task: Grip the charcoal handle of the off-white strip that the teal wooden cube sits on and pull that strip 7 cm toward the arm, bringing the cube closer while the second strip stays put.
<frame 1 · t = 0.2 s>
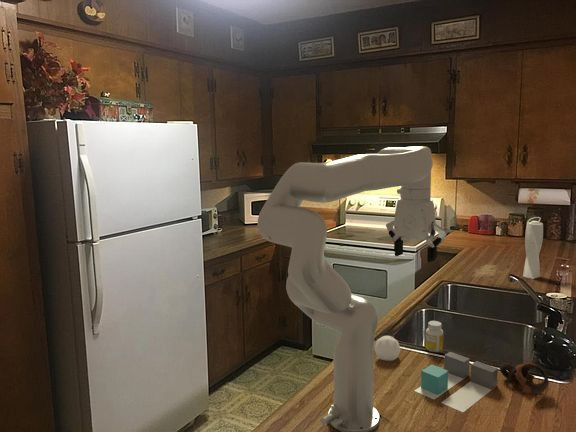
hand: (414, 258, 128), 36 cm above the worktop, tool pointing down, fingers open, 9 cm apart
ball: (387, 360, 148), on the worktop
cube: (434, 388, 129), point 1 cm above the worktop, touching strip with cube
empty strip: (470, 386, 126), point 3 cm above the worktop, slide at 0.0 cm
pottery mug: (522, 388, 131), on the worktop
supplement bottle: (433, 352, 153), on the worktop
strip with cube: (442, 375, 131), point 3 cm above the worktop, slide at 0.0 cm, touching cube
skyscraper: (531, 276, 225), on the worktop
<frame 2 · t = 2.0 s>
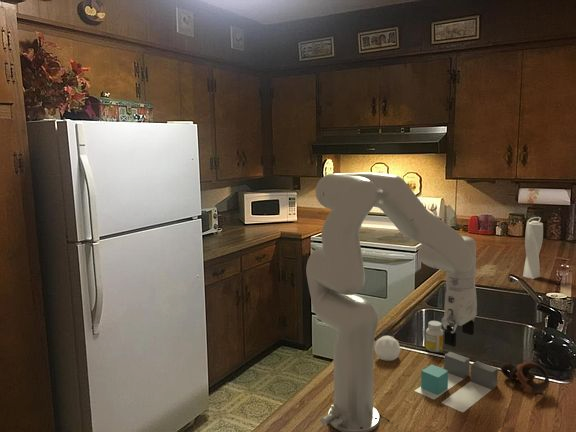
hand: (459, 339, 135), 11 cm above the worktop, tool pointing down, fingers open, 9 cm apart
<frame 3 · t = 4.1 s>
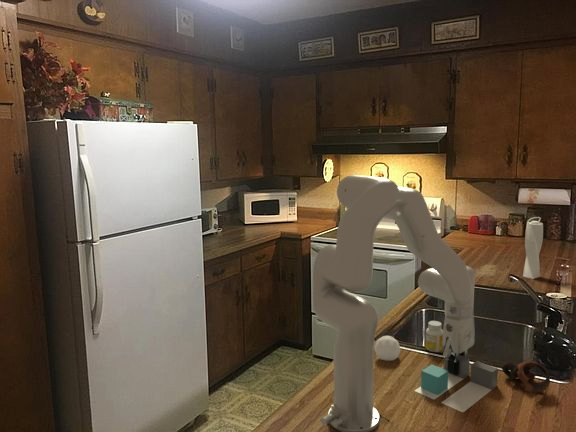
hand: (456, 370, 137), 2 cm above the worktop, tool pointing down, fingers closed on strip with cube, 3 cm apart
strip with cube: (442, 375, 131), point 3 cm above the worktop, slide at 0.0 cm, touching cube, gripper
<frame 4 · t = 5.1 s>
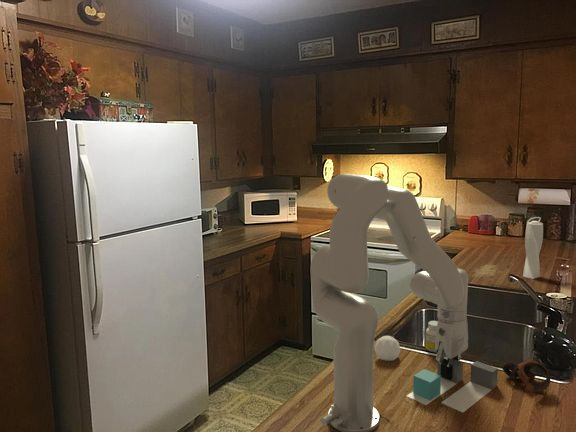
hand: (449, 374, 134), 2 cm above the worktop, tool pointing down, fingers closed on strip with cube, 3 cm apart
cube: (426, 393, 127), point 1 cm above the worktop, touching strip with cube
strip with cube: (435, 380, 129), point 3 cm above the worktop, slide at 3.7 cm, touching cube, gripper
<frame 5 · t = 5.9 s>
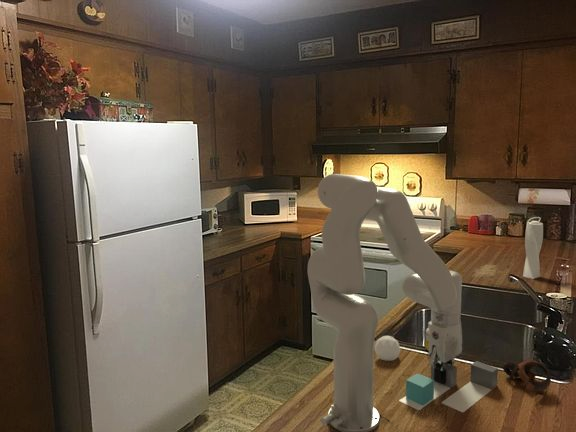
hand: (443, 379, 132), 2 cm above the worktop, tool pointing down, fingers closed on strip with cube, 3 cm apart
cube: (419, 397, 125), point 1 cm above the worktop, touching strip with cube
strip with cube: (428, 385, 127), point 3 cm above the worktop, slide at 6.9 cm, touching cube, gripper
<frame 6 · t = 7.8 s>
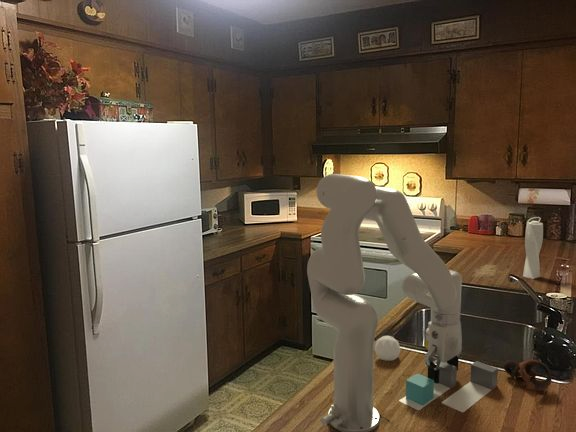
hand: (442, 375, 132), 3 cm above the worktop, tool pointing down, fingers open, 9 cm apart
strip with cube: (428, 385, 127), point 3 cm above the worktop, slide at 7.0 cm, touching cube
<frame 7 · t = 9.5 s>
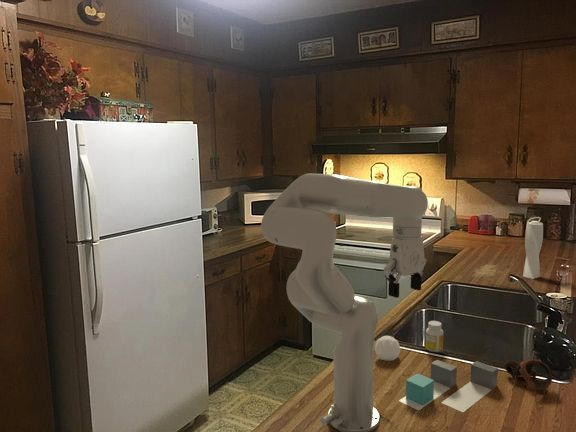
hand: (404, 292, 132), 26 cm above the worktop, tool pointing down, fingers open, 9 cm apart
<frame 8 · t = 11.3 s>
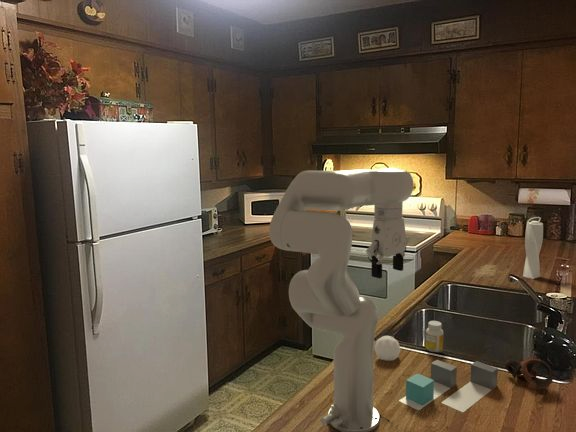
hand: (387, 273, 135), 30 cm above the worktop, tool pointing down, fingers open, 9 cm apart
at the end: strip with cube slide at 7.0 cm; cube inside the target area (0.5 cm from its centre), point 1.2 cm above the worktop; empty strip slide at 0.0 cm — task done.
